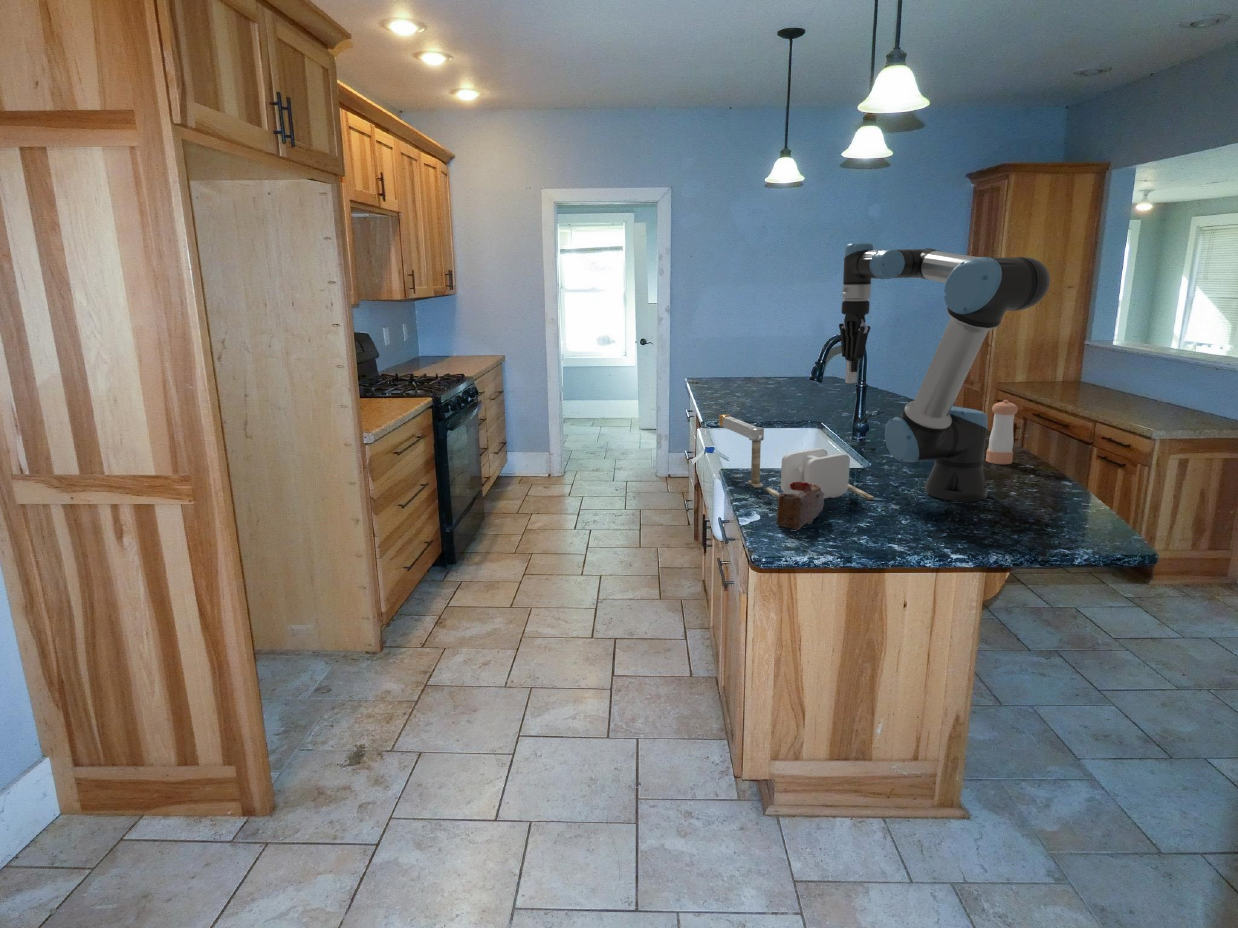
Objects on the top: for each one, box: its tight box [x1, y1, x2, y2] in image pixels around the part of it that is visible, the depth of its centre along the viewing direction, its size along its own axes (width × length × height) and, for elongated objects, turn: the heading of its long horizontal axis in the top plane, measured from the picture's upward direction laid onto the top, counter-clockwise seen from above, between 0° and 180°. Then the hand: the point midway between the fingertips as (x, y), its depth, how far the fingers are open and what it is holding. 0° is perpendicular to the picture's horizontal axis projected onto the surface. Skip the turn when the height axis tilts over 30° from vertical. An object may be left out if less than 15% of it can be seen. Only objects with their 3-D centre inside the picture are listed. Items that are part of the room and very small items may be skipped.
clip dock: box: [747, 440, 875, 501], centre depth 200 cm, size 24×25×13 cm
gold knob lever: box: [718, 414, 765, 442], centre depth 213 cm, size 4×24×3 cm, turn 18°
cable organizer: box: [780, 447, 851, 500], centre depth 196 cm, size 15×11×12 cm
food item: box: [776, 482, 825, 531], centre depth 177 cm, size 14×8×10 cm, turn 146°
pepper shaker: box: [985, 399, 1019, 465], centre depth 224 cm, size 7×7×19 cm
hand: (850, 382), depth 214 cm, fingers closed
